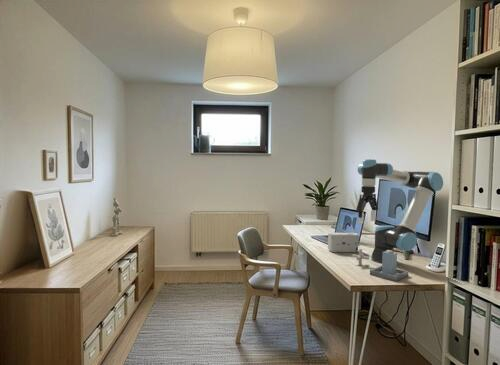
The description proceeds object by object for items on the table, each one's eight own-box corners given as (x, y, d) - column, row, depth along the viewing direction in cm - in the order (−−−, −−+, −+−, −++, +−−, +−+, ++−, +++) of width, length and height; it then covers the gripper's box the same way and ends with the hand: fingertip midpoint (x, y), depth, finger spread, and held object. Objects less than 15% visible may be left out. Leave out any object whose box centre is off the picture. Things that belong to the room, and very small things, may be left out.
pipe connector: (354, 261, 214) (355, 246, 214) (370, 264, 208) (371, 248, 208) (349, 265, 206) (350, 249, 205) (365, 268, 200) (366, 251, 200)
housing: (382, 269, 199) (382, 265, 198) (408, 276, 187) (408, 271, 187) (369, 274, 189) (369, 270, 189) (395, 281, 177) (396, 277, 177)
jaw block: (385, 271, 192) (386, 249, 191) (396, 274, 187) (397, 251, 187) (381, 272, 189) (382, 250, 188) (392, 275, 184) (393, 252, 183)
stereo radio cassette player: (355, 250, 245) (356, 223, 244) (359, 252, 237) (360, 225, 236) (327, 249, 244) (328, 222, 243) (330, 252, 236) (331, 224, 235)
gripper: (373, 185, 205) (371, 219, 206) (350, 186, 188) (349, 223, 189) (385, 185, 199) (383, 221, 200) (362, 186, 182) (361, 225, 183)
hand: (366, 222), depth 194 cm, fingers open, 13 cm apart
